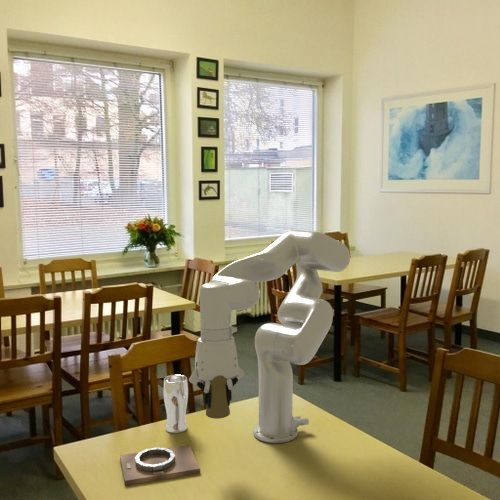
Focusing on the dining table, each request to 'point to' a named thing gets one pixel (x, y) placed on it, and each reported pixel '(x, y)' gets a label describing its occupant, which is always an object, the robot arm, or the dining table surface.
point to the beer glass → (176, 402)
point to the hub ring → (154, 467)
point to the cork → (218, 398)
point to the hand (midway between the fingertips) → (217, 404)
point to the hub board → (181, 467)
